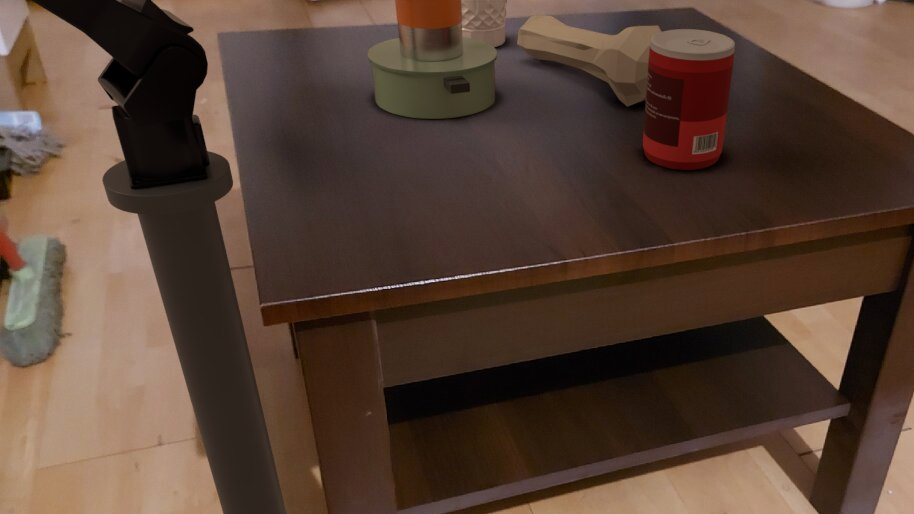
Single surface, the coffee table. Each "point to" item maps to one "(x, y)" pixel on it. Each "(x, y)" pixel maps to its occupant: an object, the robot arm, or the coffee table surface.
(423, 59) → the tin can
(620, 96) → the faceted club
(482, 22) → the white cup
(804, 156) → the coffee table surface
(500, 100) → the coffee table surface
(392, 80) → the pot
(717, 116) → the canned food
